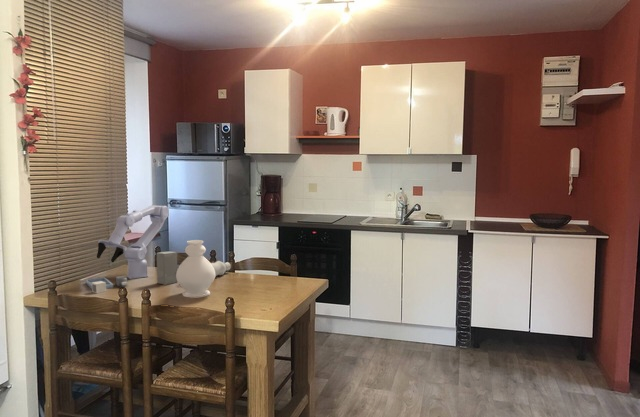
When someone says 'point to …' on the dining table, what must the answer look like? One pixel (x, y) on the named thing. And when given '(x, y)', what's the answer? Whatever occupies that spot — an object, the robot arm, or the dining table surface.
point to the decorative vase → (195, 271)
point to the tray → (90, 281)
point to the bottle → (220, 267)
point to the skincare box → (166, 267)
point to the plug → (121, 281)
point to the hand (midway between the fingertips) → (104, 259)
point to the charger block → (99, 287)
